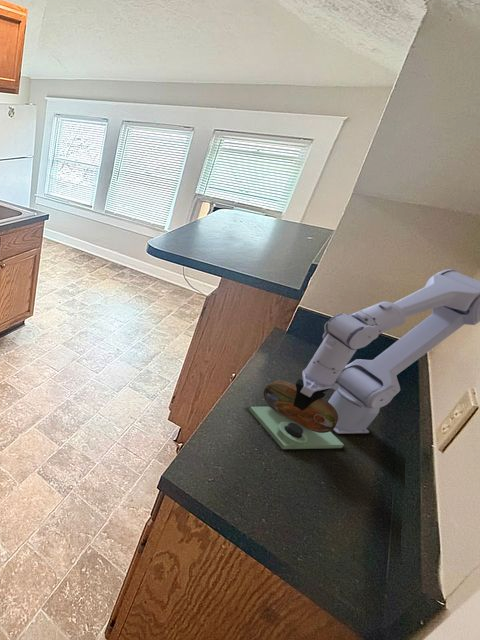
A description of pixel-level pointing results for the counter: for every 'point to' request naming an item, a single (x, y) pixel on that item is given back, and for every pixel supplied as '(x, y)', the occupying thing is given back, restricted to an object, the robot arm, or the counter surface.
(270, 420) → the pale green flat piece
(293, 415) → the tin
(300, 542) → the counter surface
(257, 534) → the counter surface
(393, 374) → the robot arm
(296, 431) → the button
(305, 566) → the counter surface
